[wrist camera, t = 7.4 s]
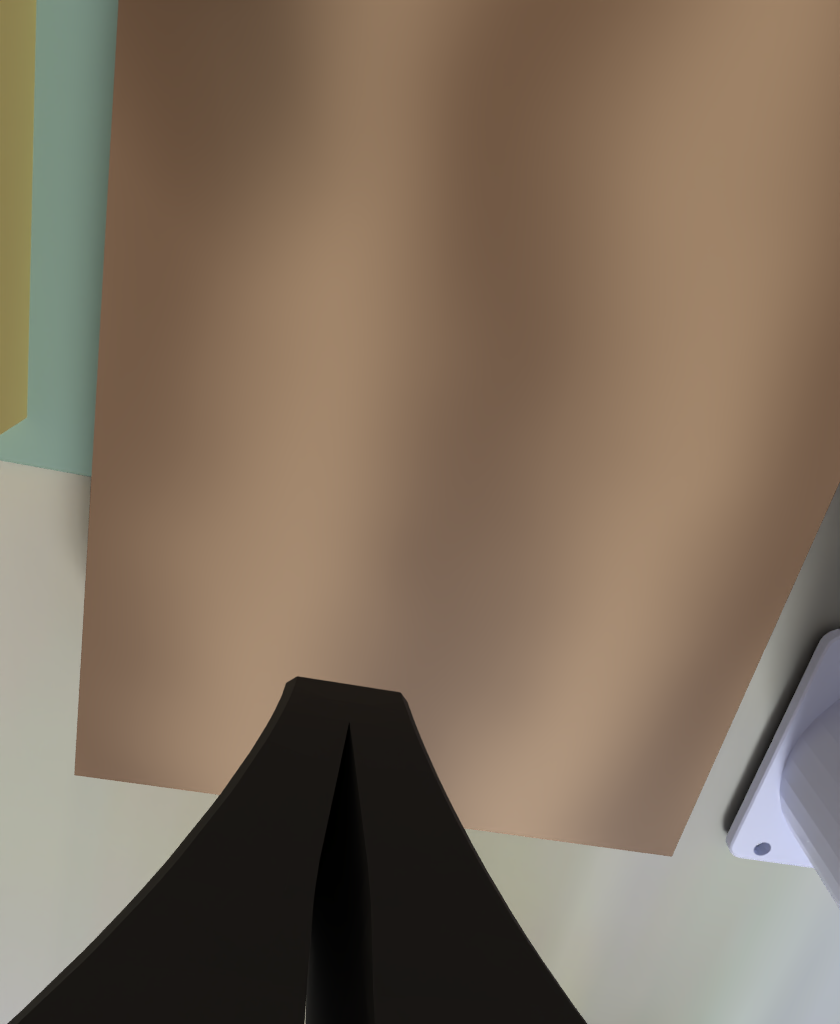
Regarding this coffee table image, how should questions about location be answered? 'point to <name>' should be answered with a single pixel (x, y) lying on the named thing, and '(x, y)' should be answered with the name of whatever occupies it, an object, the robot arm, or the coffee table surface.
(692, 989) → the coffee table surface
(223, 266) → the deck
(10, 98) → the yellow rectangular block
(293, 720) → the robot arm
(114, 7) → the mat
